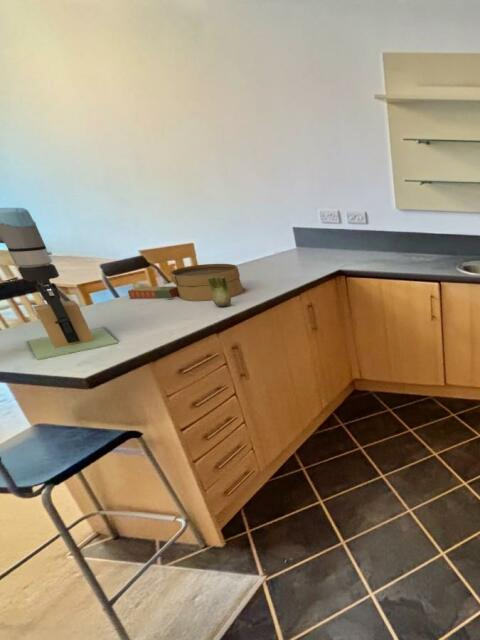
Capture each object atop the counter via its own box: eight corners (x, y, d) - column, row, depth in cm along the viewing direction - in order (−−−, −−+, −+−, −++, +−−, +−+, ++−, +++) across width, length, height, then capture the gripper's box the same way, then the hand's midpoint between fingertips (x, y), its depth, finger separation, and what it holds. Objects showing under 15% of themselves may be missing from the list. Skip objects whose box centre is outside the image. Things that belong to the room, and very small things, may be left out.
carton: (143, 295, 184) (139, 285, 182) (182, 295, 186) (179, 285, 184) (130, 300, 176) (126, 290, 175) (171, 299, 179) (168, 290, 177)
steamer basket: (174, 304, 173) (165, 276, 168) (183, 290, 193) (174, 265, 187) (243, 297, 184) (236, 271, 179) (244, 285, 203) (238, 262, 198)
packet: (52, 343, 130) (33, 306, 125) (90, 336, 137) (73, 300, 131) (55, 348, 127) (35, 309, 122) (94, 340, 133) (77, 303, 128)
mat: (29, 343, 131) (28, 341, 131) (104, 329, 144) (103, 328, 144) (37, 360, 120) (36, 358, 120) (118, 343, 133) (117, 341, 132)
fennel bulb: (234, 305, 173) (226, 276, 168) (226, 308, 169) (217, 278, 164) (221, 304, 174) (213, 275, 169) (212, 307, 170) (203, 278, 164)
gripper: (58, 267, 118) (94, 343, 129) (48, 259, 129) (82, 329, 139) (20, 271, 113) (60, 350, 123) (13, 262, 124) (50, 335, 134)
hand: (72, 339), depth 131 cm, fingers closed on packet, 6 cm apart
